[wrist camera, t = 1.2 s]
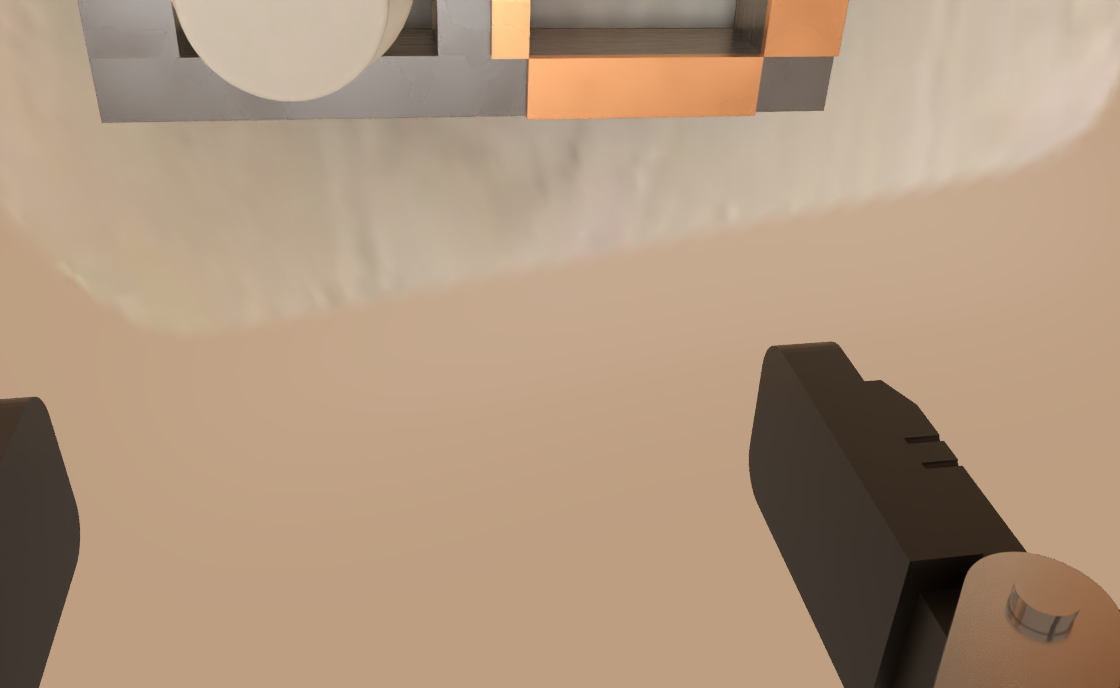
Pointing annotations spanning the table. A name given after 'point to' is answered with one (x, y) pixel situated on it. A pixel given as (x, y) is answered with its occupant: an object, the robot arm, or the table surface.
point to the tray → (489, 67)
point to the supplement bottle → (291, 41)
